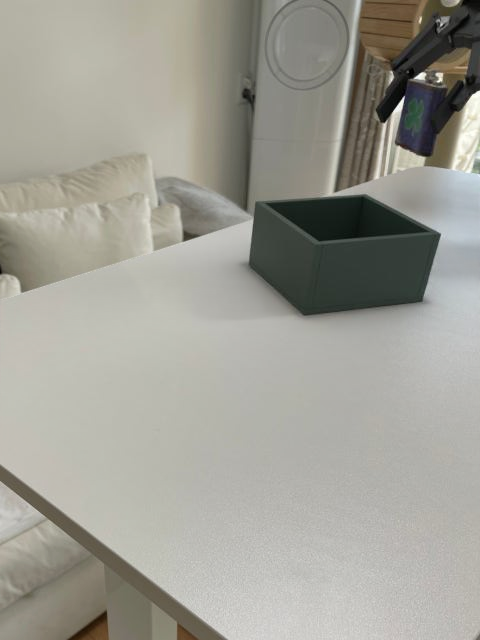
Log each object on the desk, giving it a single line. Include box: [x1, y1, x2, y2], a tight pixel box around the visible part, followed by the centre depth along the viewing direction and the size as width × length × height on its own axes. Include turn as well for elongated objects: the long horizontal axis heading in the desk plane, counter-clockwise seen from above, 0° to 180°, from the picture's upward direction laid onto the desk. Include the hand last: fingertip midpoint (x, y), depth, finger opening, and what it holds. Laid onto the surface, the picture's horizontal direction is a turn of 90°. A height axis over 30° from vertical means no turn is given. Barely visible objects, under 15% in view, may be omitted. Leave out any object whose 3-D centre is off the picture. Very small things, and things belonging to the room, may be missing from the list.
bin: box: [248, 193, 442, 316], centre depth 73 cm, size 15×15×8 cm
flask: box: [394, 67, 449, 158], centre depth 93 cm, size 9×3×11 cm, turn 9°
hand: (406, 121), depth 92 cm, fingers closed on flask, 8 cm apart
